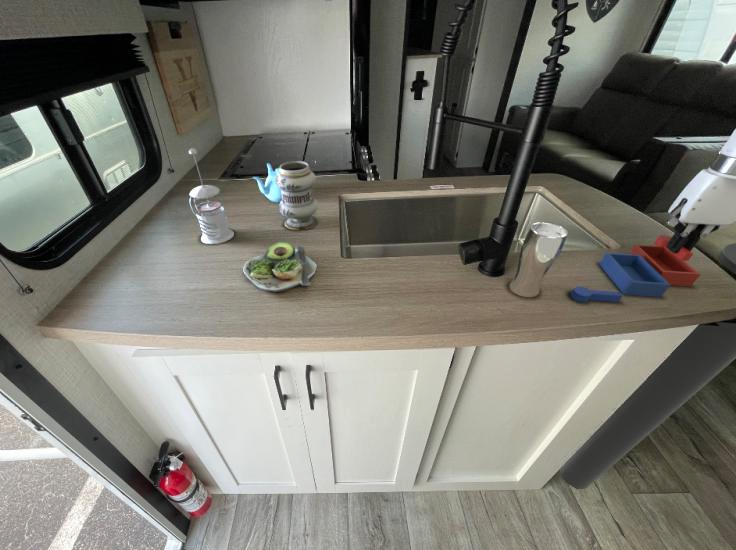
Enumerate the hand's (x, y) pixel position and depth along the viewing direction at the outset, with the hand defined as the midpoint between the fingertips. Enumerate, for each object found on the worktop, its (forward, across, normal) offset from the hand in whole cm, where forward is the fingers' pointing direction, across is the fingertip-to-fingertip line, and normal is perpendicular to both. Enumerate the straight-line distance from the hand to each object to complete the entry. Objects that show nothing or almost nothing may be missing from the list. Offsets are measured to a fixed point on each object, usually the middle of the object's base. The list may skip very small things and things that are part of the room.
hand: (676, 250), depth 73 cm
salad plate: (+8, +91, +10) cm, 92 cm away
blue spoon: (+7, +19, +12) cm, 23 cm away
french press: (+8, +117, -6) cm, 117 cm away
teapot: (+8, +106, -37) cm, 112 cm away
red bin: (+7, 0, -2) cm, 7 cm away
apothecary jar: (+8, +93, -17) cm, 94 cm away
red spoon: (+1, 0, -1) cm, 1 cm away
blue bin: (+7, +8, +3) cm, 11 cm away
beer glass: (+7, +33, +10) cm, 35 cm away
